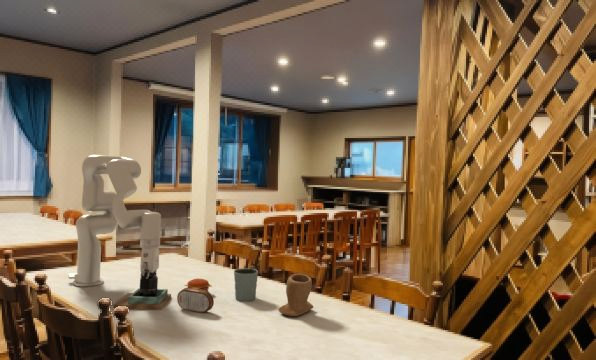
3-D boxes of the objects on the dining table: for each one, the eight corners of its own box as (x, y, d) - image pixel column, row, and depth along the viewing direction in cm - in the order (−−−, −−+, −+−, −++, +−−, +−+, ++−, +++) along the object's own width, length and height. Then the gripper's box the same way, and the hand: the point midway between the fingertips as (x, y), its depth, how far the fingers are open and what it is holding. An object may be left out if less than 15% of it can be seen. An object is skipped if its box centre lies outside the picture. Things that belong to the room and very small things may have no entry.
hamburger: (196, 298, 181) (196, 283, 181) (182, 294, 187) (182, 278, 187) (213, 294, 188) (214, 279, 188) (200, 290, 194) (200, 275, 194)
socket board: (112, 308, 164) (113, 298, 164) (127, 296, 180) (127, 286, 180) (160, 309, 165) (160, 299, 165) (171, 297, 181) (171, 288, 181)
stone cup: (299, 321, 159) (300, 281, 158) (274, 314, 166) (275, 275, 165) (321, 311, 171) (322, 273, 171) (297, 305, 178) (298, 268, 178)
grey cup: (261, 297, 186) (262, 270, 186) (249, 303, 177) (250, 274, 177) (241, 294, 190) (242, 267, 190) (228, 299, 181) (229, 271, 181)
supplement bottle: (151, 302, 169) (152, 271, 169) (135, 300, 170) (136, 270, 170) (160, 297, 176) (161, 268, 175) (145, 295, 177) (146, 266, 177)
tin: (213, 312, 165) (214, 290, 165) (209, 315, 162) (210, 292, 162) (180, 307, 170) (181, 285, 170) (175, 309, 167) (176, 287, 167)
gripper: (153, 247, 164) (151, 291, 164) (165, 239, 181) (163, 279, 182) (133, 246, 164) (131, 291, 164) (147, 238, 181) (145, 279, 181)
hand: (148, 285), depth 173 cm, fingers open, 9 cm apart
